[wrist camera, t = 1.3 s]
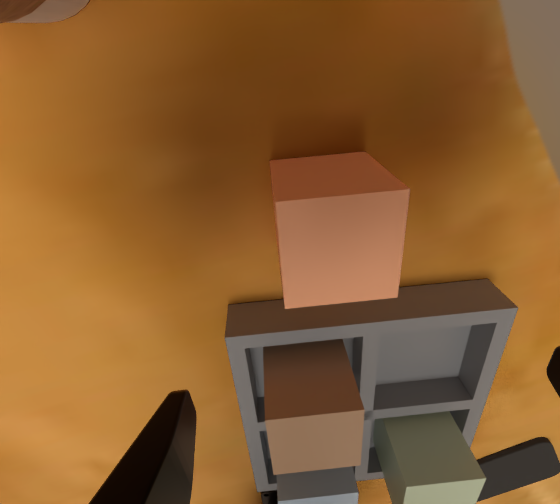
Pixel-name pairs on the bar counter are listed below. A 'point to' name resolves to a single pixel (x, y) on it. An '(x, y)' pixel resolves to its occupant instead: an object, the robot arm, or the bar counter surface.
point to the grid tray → (369, 391)
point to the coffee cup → (39, 10)
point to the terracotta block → (338, 228)
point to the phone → (518, 467)
